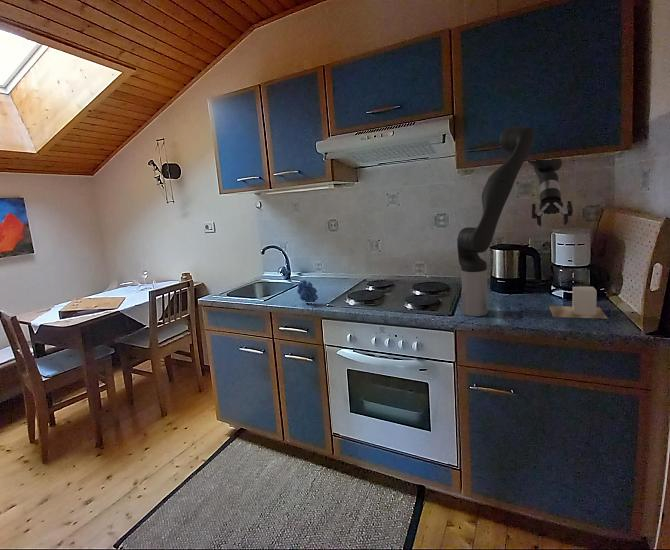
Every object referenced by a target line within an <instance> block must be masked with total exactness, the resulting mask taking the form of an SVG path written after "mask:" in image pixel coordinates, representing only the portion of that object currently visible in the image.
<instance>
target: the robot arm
mask: <svg viewBox="0 0 670 550" xmlns="http://www.w3.org/2000/svg"><path fill="white" fill-rule="evenodd" d="M535 139H536V130H535V128H534V127H533V126H531V125H530V126H528V125H523V126H509V127H506V128H505V129H503V130H502V131H501V134H500V135H499V146H500V148H501V150H502V151H504V152H505V153H509V154H511V155H510V157H509V158H508V159H507V160H506V161H505V162H504V163H503V164H502V165H500V166H499V167H498V168H497V169H496V170H495V171H494V172H492V173H491V175H490V176H488V178H487V180H486V183H485V185H484V187H483V190H482V193H481V204H482V217H481V219H480V221H479V223H478V225H477V227H474V226H473V227H472V226H471V227H464V228H462V229H460V231H459V233H458V235H457V239H456V240H457V241H456V243H457V247H456V248H457V256H458V263H459V265H460V270H461V271H460V272H461V273H460V274H461V275H460V276H461V293H460V296H461V314H462V315H463V316H469V317H483V316H486V315H488V314H489V311H488V310H489V307H488V300H489V299H488V297H489V296H488V264H487V262H486V261H485V260H484V259H482V258H481V256H480V255H479V254H482V253H484V252H487V250H488V249H489V248H490V246H491V244H492V241H493V239H494V235H495V232H496V228H497V225H498V222H499V219H500V217H501V214H502V212H503V210H504V207H505V204H506V202H507V199H508V198H509V197H510V193H511V191H512V189H513V186H514V183H515V181H516V178H517V177H518V175H519V172H520V170H521V169H522V168H521V167H522V166H523V165H524V162H526V160H525V159H526V157H527V155H528V154H529V151H530V150H531V148H532V145H534V142H535ZM527 163H528V164H530V165H531V166H532V167H533V171H534V172H535V174H536V176H537V178H538V180H539V204H536V203H532V204H531V205H532V206H531V219H534V220H536V225H537V226H538V227H542V217H544V216H545V215H551V214H552V215H555V214H557V215H559V216H561V217H562V220H563V225H564V226H566V225H567V224H568V222H569V217H572V216H573V212H574V210H573V209H574V208H573V205H572V200H568V201H567V202H562V195H561V186H560V182H559V175H558V173H557V172H556V171H559V170H560V169H562V165H563V160H562V159H552V160H536V161H528V162H527ZM538 209H539V212H538V213H536V211H537V210H538ZM566 209H567V210H566Z"/></svg>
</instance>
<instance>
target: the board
mask: <svg viewBox="0 0 670 550" xmlns="http://www.w3.org/2000/svg"><path fill="white" fill-rule="evenodd" d="M549 310H550V312H551V315H552V317H553V318H570V319H571V318H573V319H574V318H575V319H577V318H581V319H609V318H608V317H607V315H606V313H604V311H603V310H602V308H601V307H599V306H596V315H579V314H574V312H573V310H572V306H567V305H566V306H563V305H562V306H561V305H560V306H559V305H549Z"/></svg>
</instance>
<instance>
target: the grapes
mask: <svg viewBox="0 0 670 550" xmlns="http://www.w3.org/2000/svg"><path fill="white" fill-rule="evenodd" d="M317 292H318V290H317V289H316V288H315V287H313V284H312V282H310V281H306V280H303V279H302V280H301V282H298V283H297V290H296V293H297V294H298V295H299V299H300V300H301V301H304V303H305V302H315V303H316V301H317V300H318V299H319V296H318V295H317Z"/></svg>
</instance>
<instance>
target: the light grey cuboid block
mask: <svg viewBox="0 0 670 550" xmlns="http://www.w3.org/2000/svg"><path fill="white" fill-rule="evenodd" d="M597 294H598V292H597V289H596V288H595V287H594V286H572V296H571V297H572V300H571V301H572V305H571V307H572V310H573V312H574V314H579V315H596V307H597Z"/></svg>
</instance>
